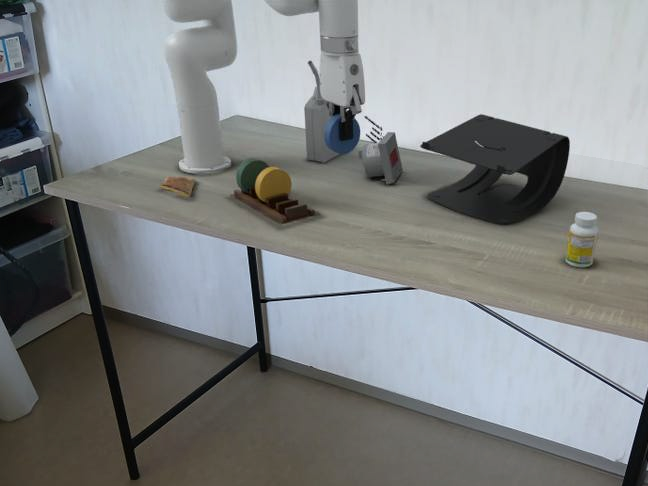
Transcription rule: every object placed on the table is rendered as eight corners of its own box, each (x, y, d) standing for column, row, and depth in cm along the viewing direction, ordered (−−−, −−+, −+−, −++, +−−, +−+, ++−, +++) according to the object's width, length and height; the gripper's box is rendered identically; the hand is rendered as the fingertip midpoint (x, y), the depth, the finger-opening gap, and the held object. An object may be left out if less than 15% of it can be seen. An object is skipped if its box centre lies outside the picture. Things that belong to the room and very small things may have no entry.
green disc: (238, 196, 167) (234, 161, 163) (269, 189, 172) (266, 154, 167) (242, 199, 166) (238, 164, 161) (273, 191, 170) (270, 157, 166)
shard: (191, 200, 166) (190, 193, 165) (155, 201, 165) (154, 193, 164) (196, 183, 175) (195, 176, 174) (163, 184, 174) (162, 176, 173)
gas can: (318, 166, 188) (313, 62, 174) (301, 163, 190) (295, 59, 176) (348, 150, 200) (346, 51, 186) (332, 147, 201) (329, 48, 188)
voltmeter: (414, 182, 180) (415, 142, 174) (370, 188, 176) (369, 146, 170) (375, 150, 200) (375, 112, 195) (335, 154, 196) (333, 116, 191)
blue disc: (324, 155, 157) (323, 116, 153) (355, 148, 161) (354, 110, 157) (330, 157, 156) (328, 118, 151) (360, 150, 160) (360, 112, 156)
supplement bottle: (584, 270, 142) (591, 223, 137) (559, 262, 145) (566, 215, 140) (597, 261, 145) (605, 215, 140) (573, 253, 148) (580, 208, 143)
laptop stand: (566, 201, 172) (576, 134, 164) (504, 229, 157) (511, 157, 149) (480, 174, 186) (485, 111, 178) (415, 197, 172) (417, 130, 163)
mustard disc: (255, 205, 162) (254, 168, 158) (286, 200, 167) (286, 164, 163) (259, 207, 161) (259, 171, 157) (291, 202, 166) (292, 167, 162)
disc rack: (229, 198, 168) (227, 184, 167) (267, 188, 174) (266, 175, 172) (280, 228, 155) (279, 213, 153) (320, 217, 160) (319, 203, 159)
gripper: (379, 49, 144) (379, 144, 154) (331, 36, 154) (335, 126, 164) (348, 53, 140) (350, 150, 150) (301, 40, 150) (306, 132, 160)
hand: (342, 137), depth 157 cm, fingers closed on blue disc, 2 cm apart
